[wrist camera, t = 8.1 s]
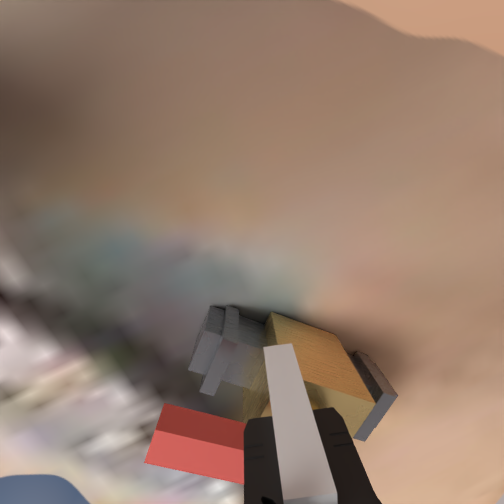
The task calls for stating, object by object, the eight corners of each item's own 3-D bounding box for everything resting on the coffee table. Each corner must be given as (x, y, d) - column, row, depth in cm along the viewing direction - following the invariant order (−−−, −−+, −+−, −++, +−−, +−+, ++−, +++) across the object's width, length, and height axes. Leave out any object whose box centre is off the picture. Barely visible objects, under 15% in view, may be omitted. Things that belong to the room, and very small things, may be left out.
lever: (355, 434, 16) (374, 477, 14) (329, 477, 17) (342, 524, 15) (170, 386, 15) (156, 425, 12) (152, 437, 16) (137, 481, 13)
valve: (191, 352, 25) (162, 450, 16) (216, 291, 24) (199, 364, 15) (350, 403, 28) (402, 513, 19) (383, 352, 26) (458, 446, 17)
